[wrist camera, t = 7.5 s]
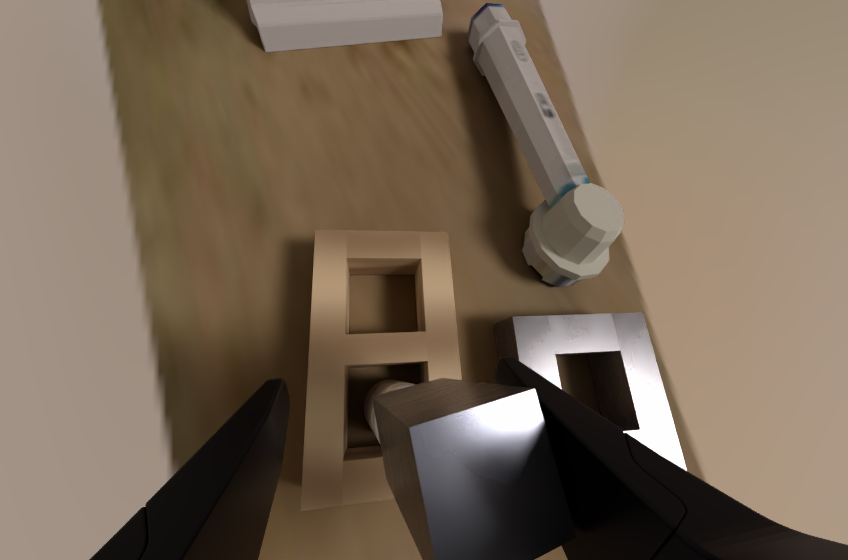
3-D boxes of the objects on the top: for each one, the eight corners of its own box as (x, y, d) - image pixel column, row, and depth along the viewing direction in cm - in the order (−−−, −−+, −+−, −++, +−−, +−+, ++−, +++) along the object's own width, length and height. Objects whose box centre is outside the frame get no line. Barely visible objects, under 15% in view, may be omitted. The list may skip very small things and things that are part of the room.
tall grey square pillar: (418, 424, 18) (576, 537, 6) (368, 439, 17) (443, 606, 5) (407, 373, 19) (534, 388, 7) (359, 386, 18) (409, 427, 6)
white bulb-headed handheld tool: (522, 0, 27) (676, 235, 17) (496, 78, 33) (598, 286, 23) (467, -4, 26) (595, 245, 16) (450, 77, 32) (535, 296, 22)
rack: (456, 471, 18) (471, 488, 15) (312, 489, 16) (300, 511, 14) (438, 251, 22) (447, 232, 19) (322, 249, 21) (315, 229, 18)
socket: (642, 458, 20) (687, 471, 17) (513, 474, 18) (538, 491, 16) (608, 321, 23) (642, 312, 20) (493, 325, 21) (512, 316, 18)
